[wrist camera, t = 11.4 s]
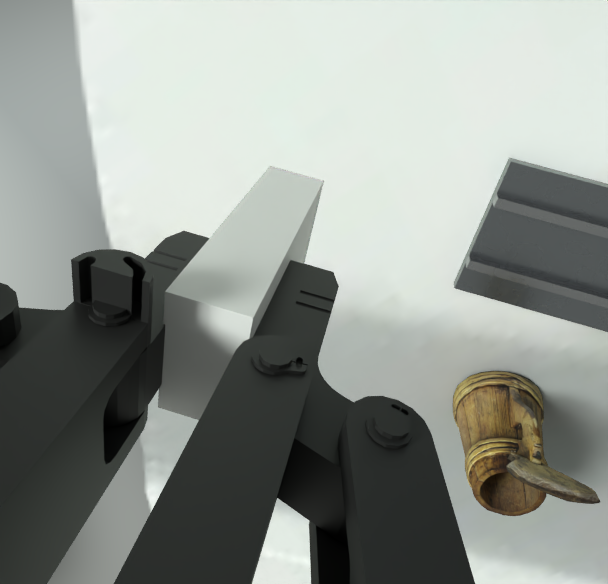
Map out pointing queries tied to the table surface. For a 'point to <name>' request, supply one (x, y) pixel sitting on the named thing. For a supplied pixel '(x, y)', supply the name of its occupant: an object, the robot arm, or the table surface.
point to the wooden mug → (508, 445)
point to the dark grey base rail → (543, 245)
